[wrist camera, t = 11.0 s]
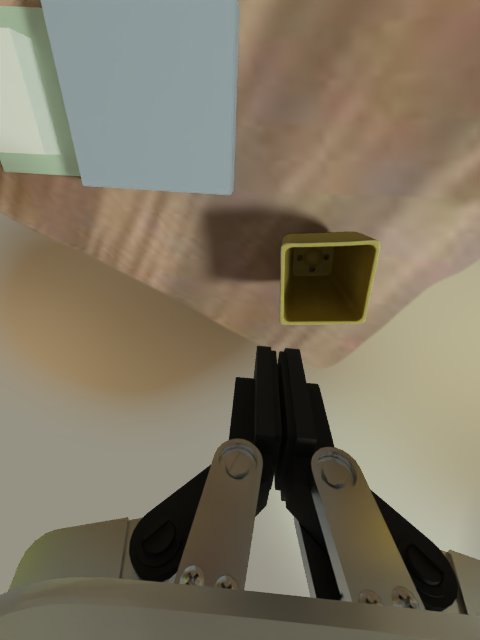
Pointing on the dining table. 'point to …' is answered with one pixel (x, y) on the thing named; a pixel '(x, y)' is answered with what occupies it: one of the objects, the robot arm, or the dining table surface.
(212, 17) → the plate
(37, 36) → the mat
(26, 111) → the white rectangular block
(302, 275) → the flower pot
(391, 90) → the dining table surface
